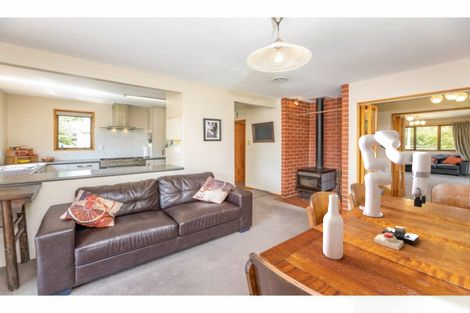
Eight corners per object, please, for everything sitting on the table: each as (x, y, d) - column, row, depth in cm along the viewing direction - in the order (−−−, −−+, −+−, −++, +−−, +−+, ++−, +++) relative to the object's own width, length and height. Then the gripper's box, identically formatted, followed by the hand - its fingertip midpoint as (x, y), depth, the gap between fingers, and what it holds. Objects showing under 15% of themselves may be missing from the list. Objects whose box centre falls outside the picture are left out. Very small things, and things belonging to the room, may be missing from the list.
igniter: (373, 242, 112) (373, 234, 112) (379, 237, 117) (379, 230, 116) (398, 250, 103) (398, 242, 103) (403, 245, 108) (403, 237, 108)
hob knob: (394, 232, 116) (394, 225, 116) (395, 231, 117) (395, 225, 117) (404, 235, 113) (404, 228, 112) (405, 234, 114) (405, 227, 113)
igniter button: (383, 236, 110) (383, 233, 110) (385, 234, 112) (385, 231, 112) (391, 239, 107) (391, 236, 107) (393, 237, 109) (393, 234, 109)
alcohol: (342, 262, 94) (343, 198, 92) (321, 256, 99) (322, 196, 97) (343, 252, 102) (344, 194, 100) (324, 248, 106) (325, 192, 104)
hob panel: (381, 236, 118) (382, 231, 118) (387, 231, 124) (388, 226, 124) (413, 246, 107) (413, 240, 106) (418, 240, 113) (418, 234, 112)
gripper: (415, 172, 121) (414, 200, 122) (408, 175, 110) (407, 206, 111) (433, 173, 115) (431, 203, 116) (427, 177, 104) (425, 210, 105)
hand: (419, 205), depth 114 cm, fingers open, 9 cm apart
